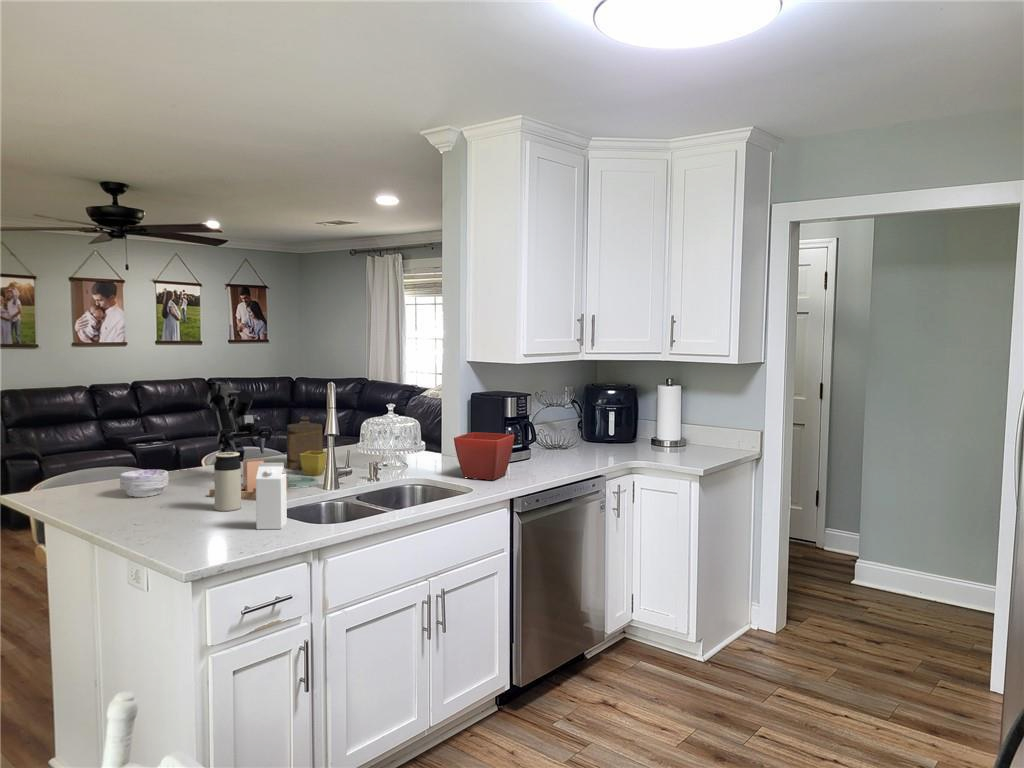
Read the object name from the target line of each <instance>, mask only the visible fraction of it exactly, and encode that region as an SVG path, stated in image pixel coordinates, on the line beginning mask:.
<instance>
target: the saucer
mask: <svg viewBox="0 0 1024 768" xmlns="http://www.w3.org/2000/svg"><path fill="white" fill-rule="evenodd" d="M316 483H318V484H319V479H317V478H316V477H312V476H311V477H310V476H296V477H295V476H294V477H289V487H302V486H312V485H314V484H316ZM312 487H313V486H312Z"/></svg>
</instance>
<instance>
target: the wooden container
mask: <svg viewBox="0 0 1024 768" xmlns="http://www.w3.org/2000/svg"><path fill="white" fill-rule="evenodd" d="M309 420H310V417H309V416H308V415H303V416H301V417H300V422H299V423H292V424H291V423H290V424H287V425H286V467H287V469H288V468H289V470H292V469H296V470H295V471H303V470H302V467H301V461H300V454H302V453H305V452H307V451H324V443H323V442H324V440H323V438H324V437H323V425H322V423H315V422H310V421H309Z"/></svg>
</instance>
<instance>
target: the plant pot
mask: <svg viewBox="0 0 1024 768" xmlns="http://www.w3.org/2000/svg"><path fill="white" fill-rule="evenodd" d="M514 440H515V434H513V433H511V434H510V433H493V432H478V431H477V432H476V431H474V432H473V431H472V432H469V433H465V434H462V435H461V434H460V435H459V436H456V437H453V443H454V449H455V453H456V458H457V461H458V464H459V467H460V470H461V474H462V476H463V478H464V477H467V478H476V479H486V480H485V481H488V480H494V481H496V480H498V479H500V478H502V477H504V476H505V475H506V472H507V470H508V467H509V463H510V461H511V456H512V452H513V447H514ZM497 478H498V479H497ZM476 479H475V480H476ZM495 479H496V480H495Z"/></svg>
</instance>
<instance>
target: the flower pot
mask: <svg viewBox="0 0 1024 768" xmlns="http://www.w3.org/2000/svg"><path fill="white" fill-rule="evenodd" d="M327 452H328V451H324V450H323V451H307V452H305V453H302V454H300V461H301V467H302V470H301V471H303V474H304V475H305V476H312V475H315V477H317V475H318V476H320V475H322V473H323V474H324V472H325V471H324V470H326V469H325V465H326V455H327Z"/></svg>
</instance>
